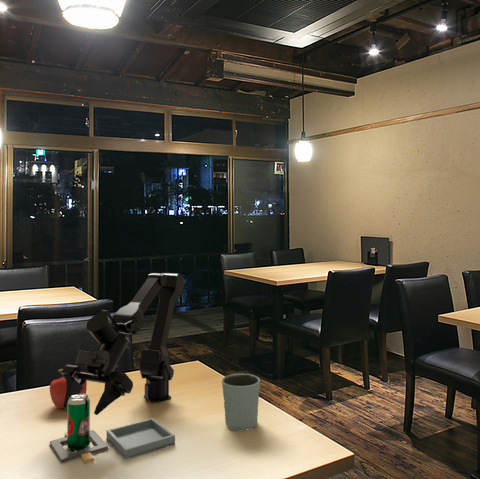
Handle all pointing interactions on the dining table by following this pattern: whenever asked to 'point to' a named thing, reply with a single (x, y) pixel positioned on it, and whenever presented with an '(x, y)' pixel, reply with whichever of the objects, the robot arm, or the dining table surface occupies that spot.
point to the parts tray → (140, 438)
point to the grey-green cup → (241, 400)
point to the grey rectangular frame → (84, 454)
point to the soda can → (78, 422)
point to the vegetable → (61, 391)
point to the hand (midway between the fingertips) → (79, 411)
